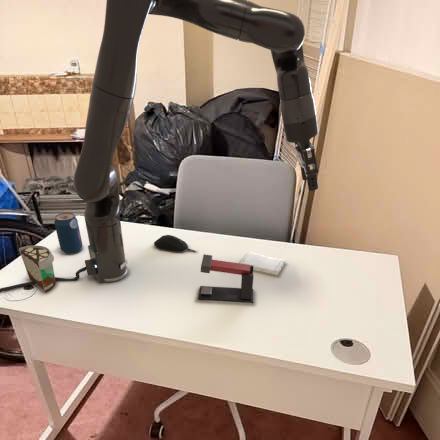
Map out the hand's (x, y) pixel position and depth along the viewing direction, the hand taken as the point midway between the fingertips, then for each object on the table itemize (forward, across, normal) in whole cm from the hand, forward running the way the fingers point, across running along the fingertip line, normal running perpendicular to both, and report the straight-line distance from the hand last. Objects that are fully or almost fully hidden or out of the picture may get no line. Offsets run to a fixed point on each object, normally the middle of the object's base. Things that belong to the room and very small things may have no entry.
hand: (310, 184), depth 99 cm
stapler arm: (+14, +7, -26) cm, 30 cm away
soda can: (+7, -19, -76) cm, 79 cm away
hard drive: (+26, -11, -17) cm, 33 cm away
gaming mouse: (+17, -21, -44) cm, 52 cm away
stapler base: (+23, +6, -28) cm, 37 cm away
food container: (+8, +1, -78) cm, 78 cm away
